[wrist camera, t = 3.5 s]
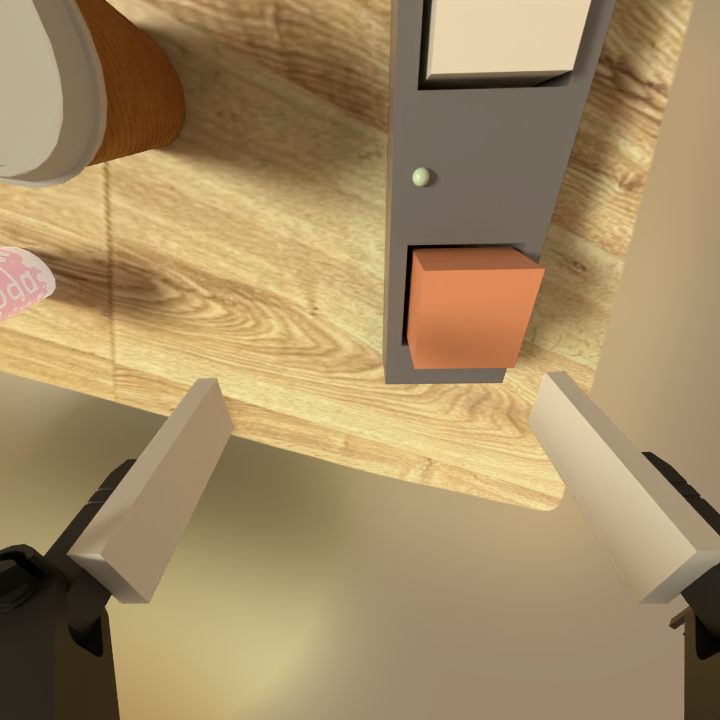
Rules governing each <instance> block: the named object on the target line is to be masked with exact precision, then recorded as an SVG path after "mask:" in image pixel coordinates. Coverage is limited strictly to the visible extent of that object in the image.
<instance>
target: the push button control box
mask: <svg viewBox="0 0 720 720" xmlns="http://www.w3.org/2000/svg"><path fill="white" fill-rule="evenodd" d="M615 4H616V0H591V3H590V7H589V10H588V14H587V18H586V22H585V25H584V29H583V33H582V36H581V40H580V44H579V48H578V51H577V55H576V59H575V63H574V66H573V70H571V71H568V72H566V73H563V74H561V75H558V76H556V77H553V78H551V79H548V80H546V81H543V82H541V83H538V84H536V85H533V86H531V87H530V88H495V89H458V90H422V91H417V89H418V74H419V58H420V42H421V26H422V11H423V0H391V30H390V71H389V111H388V152H387V192H386V233H385V273H384V314H383V364H384V375H385V384H456V383H502V382H503V379H504V376H505V372H506V369H507V368H452V369H414V365H413V361H412V356H411V352H410V348H409V344H408V340H407V335H406V332H407V319H403V310H404V294H405V279H406V263H407V247H408V245H442V244H496V245H495V247H512V248H513V249H515V250H517V251H518V252H520V253H521V254H523V255H524V256H526V257H528V258H529V259H531V260H532V261H534V262H535V263H537V264H538V262H539V258H540V255H541V252H542V248H543V245H544V242H545V238H546V235H547V231H548V228H549V225H550V221H551V218H552V215H553V211H554V208H555V205H556V201H557V198H558V195H559V191H560V188H561V185H562V181H563V178H564V174H565V171H566V168H567V164H568V161H569V158H570V154H571V151H572V148H573V144H574V141H575V138H576V134H577V131H578V128H579V124H580V121H581V118H582V114H583V111H584V107H585V104H586V101H587V97H588V94H589V91H590V87H591V84H592V81H593V77H594V74H595V71H596V67H597V64H598V61H599V57H600V54H601V50H602V47H603V44H604V40H605V37H606V34H607V30H608V27H609V24H610V20H611V17H612V14H613V10H614V7H615Z"/></svg>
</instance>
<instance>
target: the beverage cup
mask: <svg viewBox="0 0 720 720" xmlns="http://www.w3.org/2000/svg"><path fill="white" fill-rule="evenodd" d="M54 290H55V279H54V277H53V275H52V272H51V270H50V269H49V268H48V267H47V266H46V265H45V263H44V262H43V261H42V260H41V259H39V258H38V257H36V256H35V255H34V254H32V253H31V252H29V251H26V250H24V249H21V248H19V247H8V246H7V247H1V248H0V323H1V322H2V321H4V320H6V319H8V318H10V317H11V316H13V315H15V314H17V313H19V312H21V311H22V310H24V309H26V308H28V307H30V306H31V305H33V304H35V303H37V302H39V301H41V300H42V299H44V298H46V297H48V296H50V295H51V294H52V293H53V291H54Z"/></svg>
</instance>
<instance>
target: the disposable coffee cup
mask: <svg viewBox="0 0 720 720" xmlns="http://www.w3.org/2000/svg"><path fill="white" fill-rule="evenodd" d="M184 117H185V102H184V94H183V90H182V86H181V83H180V81H179V78H178V76H177V73H176V71H175V69H174V67H173V65H172V64H171V62H170V60H169V59H168V57H167V56H166V54H165V53H164V52H163V50H162V49H161V48H160V47H159V46H158V45H157V44H156V43H155V42H154V41H153V40H152V39H151V38H150V37H149V36H147V35H146V34H145V33H144V32H143V31H141V30H140V29H139V28H138V27H136V26H135V25H134V24H133V23H132V22H131V21H129V20H128V19H127V18H126V17H125V16H123V15H122V14H121V13H120V12H119V11H117V10H116V9H115V8H114V7H113V6H112V5H110V4H109V3H108V2H107V1H106V0H0V181H1V182H4V183H8V184H12V185H17V186H24V187H48V186H53V185H57V184H61V183H64V182H66V181H68V180H70V179H71V178H73V177H75V176H77V175H78V174H80V173H81V172H82V171H83V170H84V168H85V167H87V166H91V165H94V164H99V163H102V162H106V161H110V160H114V159H117V158H121V157H125V156H129V155H132V154H136V153H140V152H144V151H147V150H151V149H155V148H160V147H163V146H166V145H168V144H169V143H171V142H172V141H174V139H175V138H176V137H177V136H178V134H179V133H180V131H181V129H182V126H183V122H184Z"/></svg>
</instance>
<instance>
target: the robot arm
mask: <svg viewBox="0 0 720 720" xmlns="http://www.w3.org/2000/svg"><path fill="white" fill-rule="evenodd" d="M527 424H528V425H529V427H530V428H531V430H532V432H533V433H534V435H535V437H536V438H537V440H538V441H539V443H540V445H541V446H542V448H543V450H544V451H545V453H546V455H547V456H548V458H549V459H550V461H551V463H552V464H553V466H554V468H555V469H556V471H557V472H558V474H559V476H560V477H561V479H562V481H563V482H564V484H565V485H566V487H567V489H568V490H569V492H570V493H571V495H572V497H573V498H574V500H575V502H576V503H577V505H578V507H579V508H580V510H581V511H582V513H583V515H584V516H585V518H586V520H587V521H588V523H589V525H590V526H591V528H592V529H593V531H594V533H595V534H596V536H597V538H598V539H599V541H600V542H601V544H602V546H603V547H604V549H605V551H606V552H607V554H608V555H609V557H610V559H611V560H612V562H613V563H614V565H615V567H616V568H617V570H618V572H619V573H620V575H621V577H622V578H623V580H624V582H625V583H626V585H627V586H628V588H629V590H630V591H631V593H632V595H633V596H634V598H635V599H636V601H637V603H669V602H670V601H671V600H673V599H674V598H675V597H676V596H678V595H679V594H680V593H681V594H682V596H683V597H684V598H685V600H686V601H687V603H688V604H689V607H687V608H686V609H685V610H683V611H682V612H681V613H679V614H678V615H677V616H675V617H674V618H672V619H671V622H670V625H669V626H670V627H671V628H673V629H676V628H678V627H679V626H680V625H682V624H683V623H685V632H684V633H683V635H684V636H685V689H684V693H685V695H684V696H685V697H684V704H685V705H684V707H685V708H684V710H685V712H684V720H720V514H719V513H718V512H717V511H716V510H715V509H714V508H713V507H712V506H710V504H709V503H708V502H707V501H706V500H704V499H701V497H700V494H699V493H697V492H696V490H695V489H694V488H693V487H692V486H691V485H688V484H687V481H686V480H685V479H684V478H683V477H682V476H681V475H680V474H679V473H678V472H677V471H676V470H675V469H674V468H673V467H672V466H670V465H669V464H668V463H666V462H665V461H663V460H662V459H660V458H659V457H657V456H656V455H654V454H653V453H651V452H640V451H639V450H638V449H637V448H636V447H635V445H634V444H633V443H632V442H631V441H630V440H629V439H628V438H627V437H626V436H625V435H624V434H623V433H622V432H621V431H620V430H619V428H618V427H617V426H616V425H615V424H614V423H613V422H612V421H611V420H610V419H609V418H608V417H607V416H606V415H605V413H604V412H603V411H602V410H601V409H600V408H599V407H598V406H597V405H596V404H595V403H594V402H593V401H592V400H591V399H590V397H589V396H588V395H587V394H586V393H585V392H584V391H583V390H582V389H581V388H580V387H579V386H578V385H577V384H576V383H575V382H574V380H573V379H572V378H571V377H570V376H569V375H568V374H567V373H566V372H545V374H544V377H543V380H542V383H541V385H540V388H539V391H538V394H537V396H536V399H535V402H534V405H533V407H532V410H531V413H530V416H529V418H528V421H527ZM233 428H234V426H233V423H232V420H231V417H230V415H229V412H228V409H227V406H226V403H225V400H224V398H223V395H222V392H221V389H220V386H219V384H218V381H217V378H208V379H197V381H196V382H195V383H194V385H193V386H192V387H191V389H190V390H189V391H188V393H187V394H186V395H185V397H184V398H183V399H182V401H181V402H180V403H179V405H178V406H177V407H176V409H175V410H174V411H173V413H172V414H171V415H170V417H169V418H168V419H167V421H166V422H165V423H164V425H163V426H162V427H161V429H160V430H159V431H158V433H157V434H156V435H155V437H154V438H153V440H152V441H151V442H150V443H149V445H148V446H147V447H146V449H145V450H144V452H143V453H142V454H141V455H140V457H139V458H138V459H131V460H130V459H128V460H126V461H125V462H124V463H123V464H121V465H120V466H119V467H118V468H116V469H115V470H114V471H113V472H111V473H110V475H109V476H108V477H107V478H106V480H105V481H104V482H103V483H102V485H101V486H100V487H99V490H98V491H97V492H95V493H94V495H93V496H92V497H91V498H90V500H89V501H88V504H87V505H85V506H84V507H83V508H82V510H81V511H80V512H79V513H78V514H77V516H76V517H75V518H74V519H73V521H72V522H71V523H70V524H69V526H68V527H67V528H66V529H65V531H64V532H63V533H62V534H61V536H60V537H59V538H58V539H57V541H56V542H55V543H54V544H53V546H52V547H51V548H50V549H49V551H48V552H47V553H46V554H45V555H44V557H43V556H42V555H41V554H39V553H38V552H37V551H36V550H35V549H33V548H32V547H30V546H28V545H25V544H22V545H14V546H10V547H7V548H5V549H2V550H0V720H120V717H119V708H118V699H117V689H116V680H115V671H114V662H113V653H112V645H111V636H110V626H109V617H108V613H107V611H106V609H105V605H106V604H107V602H108V600H109V598H110V596H111V595H113V596H114V597H115V598H116V599H117V600H118V601H120V602H121V603H149V602H150V600H151V598H152V596H153V594H154V592H155V590H156V588H157V586H158V584H159V582H160V580H161V577H162V576H163V573H164V571H165V569H166V567H167V565H168V563H169V561H170V559H171V557H172V555H173V553H174V550H175V549H176V546H177V544H178V542H179V540H180V538H181V536H182V534H183V532H184V530H185V528H186V526H187V524H188V522H189V519H190V517H191V515H192V513H193V511H194V509H195V507H196V505H197V503H198V501H199V499H200V497H201V494H202V492H203V490H204V488H205V486H206V484H207V482H208V480H209V478H210V476H211V474H212V471H213V469H214V468H215V465H216V463H217V461H218V459H219V457H220V455H221V453H222V451H223V449H224V447H225V445H226V443H227V441H228V438H229V436H230V434H231V432H232V430H233Z"/></svg>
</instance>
